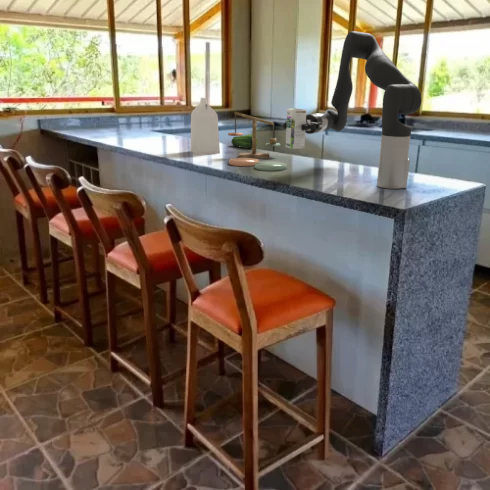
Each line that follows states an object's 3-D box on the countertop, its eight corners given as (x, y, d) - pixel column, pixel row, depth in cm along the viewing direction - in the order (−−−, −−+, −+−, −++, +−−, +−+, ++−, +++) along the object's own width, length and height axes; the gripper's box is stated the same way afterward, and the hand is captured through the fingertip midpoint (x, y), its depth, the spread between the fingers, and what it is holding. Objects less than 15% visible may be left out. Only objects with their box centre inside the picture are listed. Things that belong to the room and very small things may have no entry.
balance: (279, 156, 227) (280, 111, 220) (280, 158, 221) (282, 112, 214) (228, 155, 227) (228, 111, 220) (227, 158, 220) (227, 112, 213)
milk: (219, 153, 234) (219, 98, 226) (197, 154, 230) (195, 98, 222) (212, 150, 245) (211, 97, 236) (190, 151, 241) (189, 97, 232)
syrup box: (285, 147, 185) (285, 108, 180) (298, 146, 187) (300, 107, 182) (291, 149, 180) (292, 109, 175) (305, 148, 181) (306, 108, 177)
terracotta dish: (258, 161, 212) (258, 157, 211) (259, 166, 200) (259, 162, 199) (229, 161, 212) (229, 157, 211) (228, 166, 199) (228, 162, 199)
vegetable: (252, 133, 245) (229, 130, 260) (247, 146, 245) (225, 142, 260) (262, 138, 250) (239, 135, 265) (257, 151, 250) (234, 148, 265)
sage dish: (285, 165, 203) (285, 161, 202) (288, 170, 190) (288, 166, 190) (254, 165, 202) (254, 161, 202) (255, 170, 190) (255, 166, 190)
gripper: (299, 112, 194) (277, 115, 182) (331, 114, 186) (310, 117, 173) (299, 131, 196) (276, 135, 184) (330, 134, 188) (309, 138, 176)
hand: (293, 126), depth 179 cm, fingers closed on syrup box, 7 cm apart
